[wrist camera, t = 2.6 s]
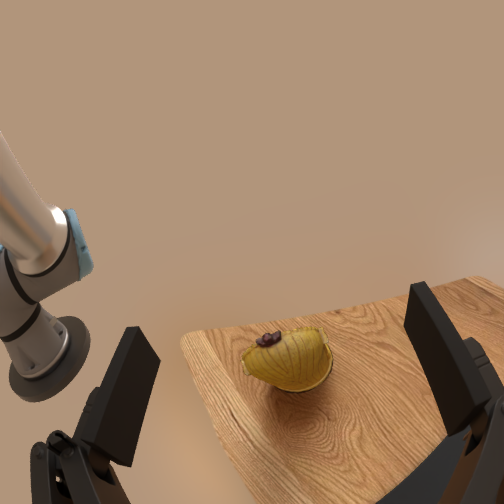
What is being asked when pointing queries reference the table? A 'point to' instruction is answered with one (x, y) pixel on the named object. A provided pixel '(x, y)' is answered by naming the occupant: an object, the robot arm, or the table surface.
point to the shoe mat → (430, 474)
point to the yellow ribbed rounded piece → (290, 359)
